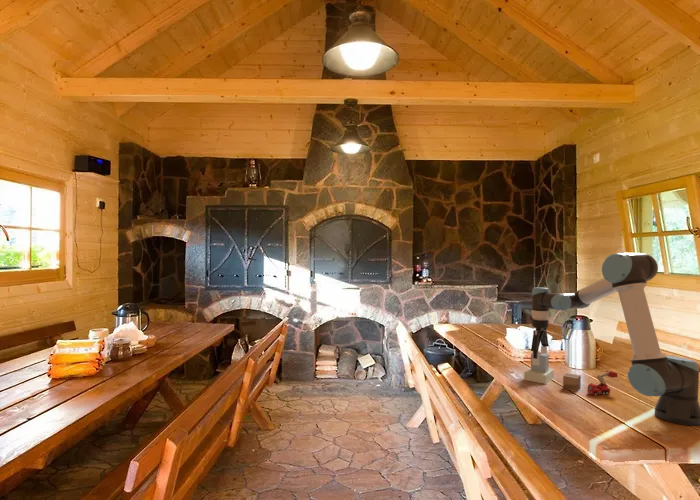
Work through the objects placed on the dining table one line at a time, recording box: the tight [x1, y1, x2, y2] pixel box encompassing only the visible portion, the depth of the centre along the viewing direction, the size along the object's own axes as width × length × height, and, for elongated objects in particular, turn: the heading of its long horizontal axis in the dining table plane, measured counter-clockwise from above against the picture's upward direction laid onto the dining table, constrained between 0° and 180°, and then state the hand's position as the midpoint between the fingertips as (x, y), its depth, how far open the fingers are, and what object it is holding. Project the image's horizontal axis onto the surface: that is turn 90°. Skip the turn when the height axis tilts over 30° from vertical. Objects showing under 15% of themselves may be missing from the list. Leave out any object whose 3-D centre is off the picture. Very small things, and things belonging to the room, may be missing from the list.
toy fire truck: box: [587, 370, 618, 396], centre depth 199 cm, size 3×14×10 cm, turn 105°
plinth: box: [523, 367, 555, 385], centre depth 220 cm, size 14×10×4 cm
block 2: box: [562, 372, 582, 392], centre depth 205 cm, size 6×6×6 cm
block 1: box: [530, 352, 550, 373], centre depth 220 cm, size 5×7×8 cm
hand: (539, 362), depth 220 cm, fingers open, 13 cm apart
